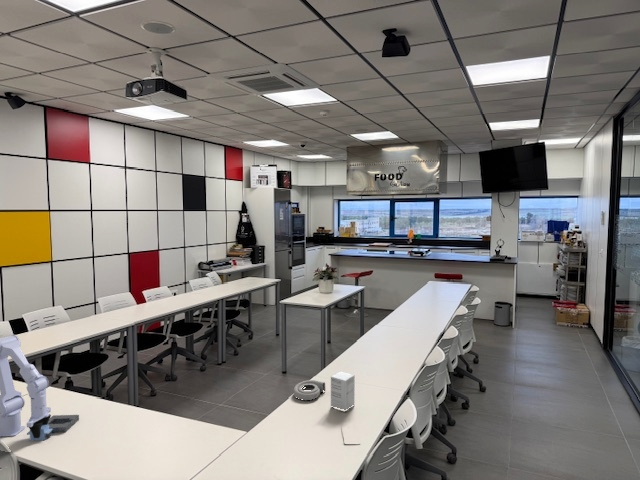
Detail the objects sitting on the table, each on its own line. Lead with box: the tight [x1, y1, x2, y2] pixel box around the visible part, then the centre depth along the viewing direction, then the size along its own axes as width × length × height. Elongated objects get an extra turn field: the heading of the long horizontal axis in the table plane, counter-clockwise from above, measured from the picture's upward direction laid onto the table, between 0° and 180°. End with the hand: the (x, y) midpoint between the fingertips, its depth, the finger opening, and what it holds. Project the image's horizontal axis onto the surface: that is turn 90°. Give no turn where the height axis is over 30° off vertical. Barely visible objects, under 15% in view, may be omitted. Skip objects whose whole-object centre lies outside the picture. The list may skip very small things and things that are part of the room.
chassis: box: [47, 414, 80, 434], centre depth 196 cm, size 12×12×2 cm
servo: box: [26, 425, 53, 442], centre depth 186 cm, size 9×4×5 cm, turn 94°
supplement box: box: [330, 371, 355, 410], centre depth 216 cm, size 10×9×17 cm
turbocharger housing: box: [293, 379, 326, 401], centre depth 231 cm, size 17×6×15 cm
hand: (39, 434), depth 186 cm, fingers closed on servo, 4 cm apart
